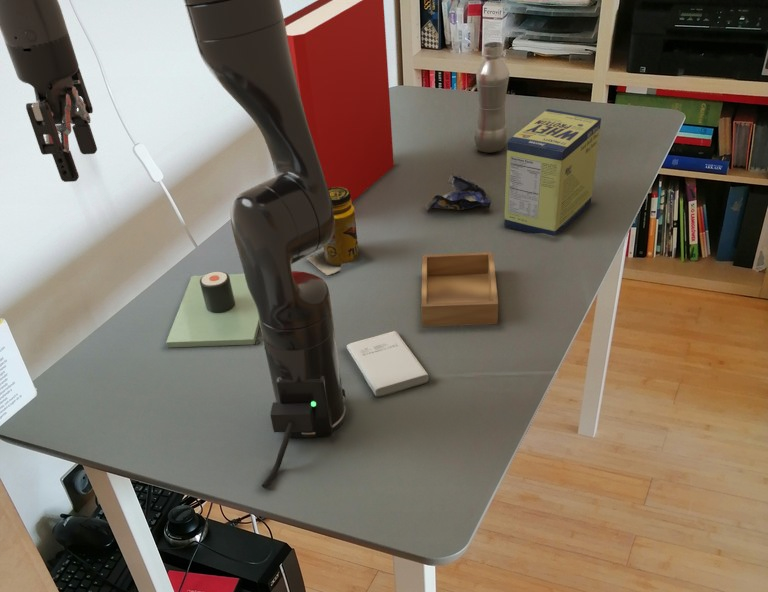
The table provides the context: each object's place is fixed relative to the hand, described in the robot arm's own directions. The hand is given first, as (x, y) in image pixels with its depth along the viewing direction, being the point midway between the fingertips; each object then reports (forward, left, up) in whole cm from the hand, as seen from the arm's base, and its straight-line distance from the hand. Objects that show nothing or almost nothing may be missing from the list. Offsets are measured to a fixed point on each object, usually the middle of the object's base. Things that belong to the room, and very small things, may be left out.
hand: (80, 166), depth 110 cm
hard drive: (-9, -40, -28) cm, 50 cm away
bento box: (+8, -51, -28) cm, 59 cm away
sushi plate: (+8, -12, -28) cm, 32 cm away
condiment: (+23, -30, -28) cm, 47 cm away
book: (+50, -29, -28) cm, 64 cm away
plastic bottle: (+66, -59, -28) cm, 93 cm away
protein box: (+36, -68, -28) cm, 82 cm away
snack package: (+41, -52, -28) cm, 72 cm away
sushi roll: (+8, -12, -27) cm, 31 cm away
